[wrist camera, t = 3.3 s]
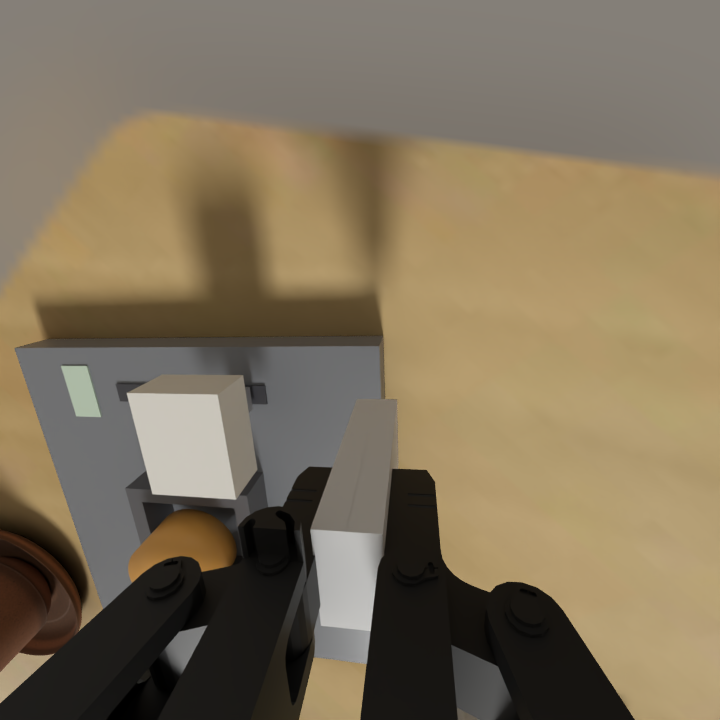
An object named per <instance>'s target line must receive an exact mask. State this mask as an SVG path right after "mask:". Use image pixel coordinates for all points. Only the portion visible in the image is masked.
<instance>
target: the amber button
mask: <svg viewBox="0 0 720 720" xmlns="http://www.w3.org/2000/svg"><path fill="white" fill-rule="evenodd" d="M236 555H237V548H236V543H235V540H234V537H233V536H232V534H231V532H230V531H229V529H228V528H227V527H226V526H225V525H224V524H223V523H222V522H221V521H220V520H218V519H217V518H215V517H214V516H212V515H210V514H208V513H206V512H203V511H200V510H196V509H181V510H177V511H175V512H172V513H171V514H169V515H168V516H167V517H166V518H165V519H164V520H163V521H162V523H161V524H160V525H159V526H158V527H157V528H156V529H155V530H154V531H153V532H152V533H151V535H150V536H149V537H148V538H147V539H146V540H145V541H144V542H143V543H142V544H141V545H140V547H139V548H138V549H137V550H136V551H135V552H134V553H133V555H132V556H131V558H130V560H129V564H128V573H129V577H130V580H131V582H132V583H133V582H134V581H135V580H136V579H137V578H138V577H139V576H140V575H141V574H142V573H144V572H145V571H146V570H148V569H149V568H151V567H152V566H153V565H155V564H157V563H159V562H161V561H163V560H166V559H168V558H173V557H178V556H185V557H192V558H193V559H195V560H196V561H198V562H199V565H200V568H201V571H202V572H204V571H208V570H213V569H218V568H223V567H228V566H231V565H233V563H234V561H235V559H236Z"/></svg>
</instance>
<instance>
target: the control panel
mask: <svg viewBox="0 0 720 720" xmlns="http://www.w3.org/2000/svg"><path fill="white" fill-rule="evenodd" d="M15 351H16V354H17V357H18V360H19V363H20V366H21V369H22V372H23V375H24V378H25V381H26V384H27V387H28V390H29V393H30V395H31V398H32V401H33V404H34V407H35V410H36V413H37V416H38V419H39V422H40V425H41V428H42V431H43V434H44V437H45V439H46V442H47V445H48V448H49V451H50V454H51V457H52V460H53V463H54V466H55V469H56V472H57V475H58V478H59V481H60V484H61V486H62V489H63V492H64V495H65V498H66V501H67V504H68V507H69V510H70V513H71V516H72V519H73V522H74V525H75V528H76V531H77V533H78V536H79V539H80V542H81V545H82V548H83V551H84V554H85V557H86V560H87V563H88V566H89V569H90V572H91V575H92V577H93V580H94V583H95V586H96V589H97V592H98V595H99V598H100V601H101V604H102V607H103V609H104V608H105V607H106V606H107V605H108V604H110V603H111V602H112V601H113V600H114V599H115V598H116V597H117V596H118V595H119V594H120V593H122V592H123V591H124V590H125V589H126V588H127V587H128V586H129V585H130V584H131V583H132V582H131V580H130V577H129V573H128V564H129V560H130V558H131V556H132V555H133V553H134V552H135V551H136V550H137V549H138V548H139V547H140V545H141V544H142V543H143V542H144V541H145V540H146V539H147V538H148V537H149V536H150V535H151V533H152V532H153V531H154V530H155V529H156V528H157V527H158V526H159V525H160V524H161V523H162V521H163V520H164V519H165V518H166V517H167V516H168V515H169V514H171V513H172V512H175V511H177V510H181V509H196V510H200V511H203V512H206V513H208V514H210V515H212V516H214V517H215V518H217V519H218V520H220V521H221V522H222V523H223V524H224V525H225V526H226V527H227V528H228V529H229V531H230V532H231V534H232V536H233V537H234V540H235V543H236V548H237V555H236V559H235V561H234V563H233V565H235V564H238V563H240V562H242V560H243V553H242V547H241V542H240V537H239V531H238V525H239V524H240V523H241V522H242V521H243V520H244V519H245V518H246V517H247V516H249V515H250V514H252V513H254V512H255V511H257V510H260V509H263V508H266V507H275V506H281V507H283V505H284V503H285V501H286V500H287V497H288V495H289V493H290V491H291V490H292V487H293V485H294V482H295V480H296V478H297V476H299V475H300V474H301V473H302V472H303V471H304V470H306V469H307V468H308V467H309V466H310V467H333V464H334V462H335V459H336V456H337V453H338V451H339V448H340V445H341V442H342V439H343V437H344V434H345V431H346V428H347V425H348V423H349V420H350V417H351V414H352V411H353V409H354V406H355V403H356V400H357V399H385V380H384V345H383V336H301V337H197V338H92V339H47V340H43V341H39V342H35V343H32V344H28V345H24V346H20V347H16V348H15ZM160 375H243V378H244V384H245V387H250V393H251V400H252V407H253V410H252V411H251V412H250V413H249V417H250V424H251V431H252V437H253V444H254V451H255V457H256V464H257V471H256V472H255V474H254V475H253V476H252V478H251V479H250V481H249V482H248V483H247V485H246V486H245V488H244V489H243V490H242V492H241V493H240V495H239V496H238V498H237V499H236V500H234V499H218V498H203V497H187V496H172V495H156V494H152V491H151V487H150V483H149V479H148V475H147V471H146V467H145V463H144V459H143V455H142V451H141V447H140V444H139V440H138V436H137V432H136V428H135V424H134V420H133V416H132V412H131V408H130V404H129V400H128V397H127V393H128V392H130V391H131V390H133V389H135V388H137V387H139V386H141V385H143V384H145V383H147V382H149V381H151V380H153V379H155V378H157V377H159V376H160ZM314 635H315V653H314V657H318V658H326V659H333V660H341V661H349V662H356V663H364V664H367V657H368V649H369V640H370V631H365V630H356V629H347V628H337V627H328V626H321V622H320V613H318V617H317V621H316V625H315V629H314Z"/></svg>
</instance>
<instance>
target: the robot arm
mask: <svg viewBox="0 0 720 720" xmlns="http://www.w3.org/2000/svg"><path fill="white" fill-rule="evenodd" d="M238 531H239V537H240V542H241V547H242V553H243V560H242V562H240V563H238V564H235V565H231V566H228V567H223V568H218V569H213V570H208V571H204V572H202V571H201V568H200V565H199V562H198V561H196V560H195V559H193V558H192V557H185V556H178V557H173V558H168V559H166V560H163V561H161V562H159V563H157V564H155V565H153V566H152V567H151V568H149V569H148V570H146V571H145V572H144V573H142V574H141V575H140V576H139V577H138V578H137V579H136V580H135V581H134V582H133V583H131V584H130V585H129V586H128V587H127V588H126V589H125V590H124V591H123V592H122V593H120V594H119V595H118V596H117V597H116V598H115V599H114V600H113V601H112V602H111V603H110V604H108V605H107V606H106V607H105V608H104V609H103V610H102V611H101V612H100V613H99V614H98V615H96V616H95V617H94V618H93V619H92V620H91V621H90V622H89V623H88V624H87V625H86V626H84V627H83V628H82V629H81V630H80V631H79V632H78V633H77V634H76V635H75V636H73V637H72V638H71V639H70V640H69V641H68V642H67V643H66V644H65V645H64V646H63V647H61V648H60V649H59V650H58V651H57V652H56V653H55V654H54V655H53V656H52V657H51V658H49V659H48V660H47V661H46V662H45V663H44V664H43V665H42V666H41V667H40V668H39V669H37V670H36V671H35V672H34V673H33V674H32V675H31V676H30V677H29V678H28V679H27V680H25V681H24V682H23V683H22V684H21V685H20V686H19V687H18V688H17V689H16V690H14V691H13V692H12V693H11V694H10V695H9V696H8V697H7V698H6V699H5V700H4V701H2V702H1V703H0V720H299V716H300V712H301V708H302V704H303V700H304V695H305V691H306V687H307V683H308V679H309V674H310V670H311V666H312V662H313V658H314V653H315V635H314V629H315V625H316V621H317V617H318V613H320V622H321V626H328V627H337V628H347V629H356V630H365V631H370V640H369V649H368V657H367V666H366V675H365V684H364V692H363V701H362V710H361V719H360V720H458V715H457V708H459V709H460V710H462V711H464V712H466V713H468V714H470V715H472V716H473V717H475V718H477V719H479V720H635V719H634V718H633V716H632V715H631V713H630V712H629V710H628V709H627V707H626V706H625V704H624V703H623V701H622V700H621V698H620V697H619V695H618V694H617V692H616V690H615V689H614V687H613V686H612V684H611V683H610V681H609V680H608V678H607V677H606V675H605V674H604V672H603V671H602V669H601V668H600V666H599V665H598V663H597V662H596V660H595V658H594V657H593V655H592V654H591V652H590V651H589V649H588V648H587V646H586V645H585V643H584V642H583V640H582V639H581V637H580V636H579V634H578V633H577V631H576V630H575V628H574V626H573V625H572V623H571V622H570V620H569V619H568V617H567V616H566V614H565V613H564V611H563V610H562V609H561V608H560V607H559V605H558V604H557V603H556V602H555V601H554V600H553V599H552V597H550V596H549V595H547V594H546V593H544V592H543V591H541V590H540V589H538V588H536V587H533V586H531V585H528V584H525V583H521V582H506V583H503V584H500V585H497V586H496V587H495V588H494V589H493V590H492V591H491V592H487V591H484V590H482V589H479V588H477V587H474V586H472V585H469V584H467V583H465V582H463V581H462V580H460V579H459V578H458V577H456V576H455V575H454V574H453V573H452V572H451V571H450V570H449V569H448V568H447V566H446V564H445V563H444V561H443V559H442V555H441V549H440V537H439V525H438V514H437V502H436V490H435V481H434V480H433V478H432V477H431V476H430V474H429V473H428V471H427V470H411V469H398V421H397V399H357V400H356V403H355V406H354V409H353V411H352V414H351V417H350V420H349V423H348V425H347V428H346V431H345V434H344V437H343V439H342V442H341V445H340V448H339V451H338V453H337V456H336V459H335V462H334V464H333V467H310V466H309V467H308V468H307V469H306V470H304V471H303V472H302V473H301V474H300V475H299V476H297V478H296V480H295V482H294V485H293V487H292V490H291V491H290V493H289V495H288V497H287V500H286V501H285V503H284V505H283V507H281V506H275V507H266V508H263V509H260V510H257V511H255V512H254V513H252V514H250V515H249V516H247V517H246V518H245V519H244V520H243V521H242V522H241V523H240V524H239V525H238Z"/></svg>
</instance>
